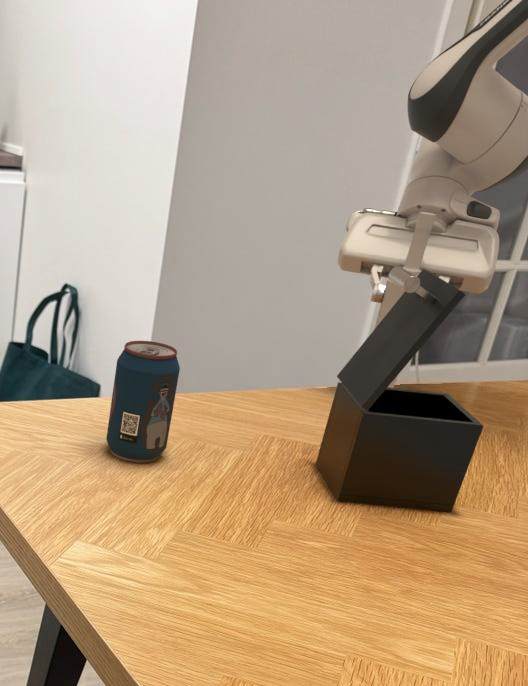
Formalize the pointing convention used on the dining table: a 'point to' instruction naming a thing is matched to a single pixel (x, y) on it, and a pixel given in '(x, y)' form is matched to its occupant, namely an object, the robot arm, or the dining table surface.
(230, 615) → the dining table surface
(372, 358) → the bin lid
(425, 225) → the white round tapered piece
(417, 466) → the bin
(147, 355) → the soda can
